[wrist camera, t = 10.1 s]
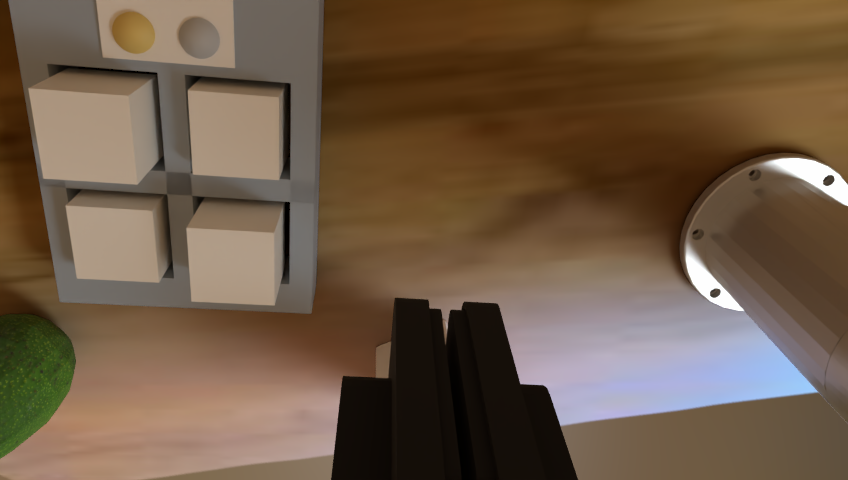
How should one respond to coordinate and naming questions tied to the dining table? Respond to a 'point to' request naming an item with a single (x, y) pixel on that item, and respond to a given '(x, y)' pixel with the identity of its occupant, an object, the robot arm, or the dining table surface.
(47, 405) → the avocado
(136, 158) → the button
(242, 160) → the button
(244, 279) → the button
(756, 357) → the dining table surface
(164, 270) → the button
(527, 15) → the dining table surface
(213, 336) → the dining table surface
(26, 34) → the board
